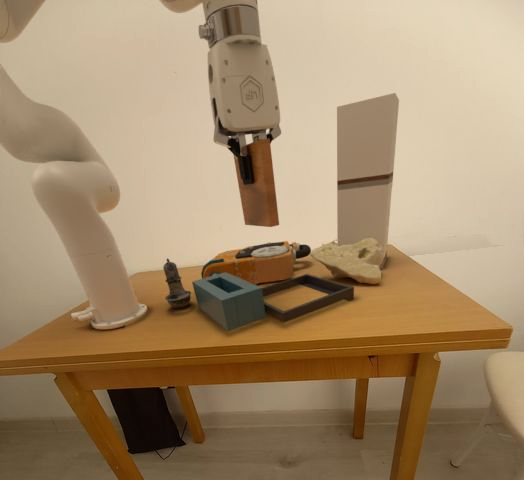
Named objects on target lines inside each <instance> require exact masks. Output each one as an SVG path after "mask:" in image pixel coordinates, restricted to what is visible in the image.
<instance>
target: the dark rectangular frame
mask: <svg viewBox="0 0 524 480" xmlns="http://www.w3.org/2000/svg"><path fill="white" fill-rule="evenodd" d="M297 286H303V287H306V288H309V289H312V290H314V291H318V292H320V293H323V294H326V295H324V296H321V297H319V298H316V299H313V300H310V301H307V302H305V303H302V304H299V305H297V306H295V307H291V308H288V309H285V310H283V309H281V308H278V307H276V306H275V305H272V304H271V303H268V302H266V301H264V308H265V314H267V315H269V316H270V317H272V318H274V319H275V320H277V321H279V322H281V323H286V322H289V321H292V320H294V319H297V318H299V317H303V316H306V315H308V314H311V313H313V312H315V311H318V310H320V309H323V308H325V307H328V306H330V305H331V306H332V305H334V304H336V303H338V302H342V301H343V300H344V301H347V302H350V301H352V300H354V299H355V287H354V286H351V285H348V284H344V283H341V282H337V281H334V280H331V279H327V278H324V277H319V276H316V275H313V274H310V273H304V274H302V275H298V276H295V277H291V278H289V279H286V280H281V281H278V282H277V283H273V284H270V285H267V286H264V287H261V288H262V294H263V298H264V297H267V296H271V295H274V294H277V293H280V292H282V291H285V290H289V289H291V288H295V287H297Z"/></svg>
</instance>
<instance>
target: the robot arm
mask: <svg viewBox="0 0 524 480" xmlns="http://www.w3.org/2000/svg"><path fill="white" fill-rule="evenodd" d="M158 1H159V2H160V3H161V4H162V6H164V7H165V8H166V9H167V10H168V11H170V12H172V13H175V14H185V13H187V12H190V11H191V10H193V9H195V8H197V7H198V6H200V5H201V4H202V9H203V15H204V20H205V21H204V22H205V23H204V24H199V25H198V36H199V39H200V40H205V41H207V44H208V45H207V46H208V49H209V50H208V52H207V78H208V79H207V80H208V81H207V82H208V92H209V100H210V108H211V115H212V120H213V125H214V131H213V142H214V143H215V144H216V145H219V146H221V147H224V148H227V150H228V151H230V152H231V153H232V155H233V154H234V155H233V157H234V156H235V158H237V159H238V164H239V170H240V176H241V179H242V180H243V184H244V185H247V184H253V183H254V175H253V168H252V161H251V156H248V151H247V139H246V135H247V136H248V135H251V140H252V142H255V141H258V140H260V139H270V145H271V144H272V143H273V141H274V140H276V139H277V138H279V137H280V136H281V134H282V129H281V127H280V124H281V109H280V102H279V94H278V88H277V82H276V76H275V72H274V66H273V62H272V58H271V55H270V51H269V48H268V45H267V44H263V41H262V34H261V33H262V32H261V25H260V15H259V6H258V0H158ZM45 2H46V0H0V44H7V43H10V42H13V41H15V40H16V39H17V38H18V37H19V36H20V35H21V34H22V33H23V32H24V31H25V29H26V28H27V26H28V25H29V23H30V22H31V21H32V19H33V18H34V16H35V15H36V14H37V13H38V11H39V10H40V9H41V7H42V6H43V5H44V3H45ZM267 130H268V132H267ZM0 147H2V149H4V150H5V151H6V152H7V153H8V154H9V155H10V156H11V157H13V158H15V159H16V160H19V161H21V162H25V163H32V164H40V165H38V166H37V167H36V168H35V169H34V171H33V172H32V175H31V180H30V181H31V182H30V183H31V189H32V192H33V195H34V198H35V199H36V201H37V204H38V205H39V207H40V208H41V209H42V211H43V212H44V214H45V215H46V216H47V218H48V220H49V221H50V222H51V224H52V226H53V227H54V229H55V231H56V233H57V235H58V236H59V238H60V240H61V242H62V245H63V247H64V249H65V251H66V254H67V256H68V257H69V259H70V261H71V264H72V266H73V269H74V271H75V272H76V274H77V278H78V279H79V282H80V284H81V287H82V288H83V290H84V293H85V295H86V297H87V299H88V302H89V307H86V308H85V310H80V311H75V312H72V313H70V315H71V317H72V320H73V321H74V322H75V323H76V322H79V323H83V322H86V321H90V324H91V326H92V328H93V329H95V330H113V329H118V328H121V327H125V326H126V325H125V324H127V323H130V322H133V321H135V320H137V319H139V318H141V317H142V316H144V315H145V314H146V313H147V312H148V306H147V305H146V304H143V303H139V300H138V299H137V295H136V293H135V290H134V287H133V285H132V282H131V280H130V277H129V273H128V271H127V268H126V265H125V263H124V259H123V258H122V255H121V251H120V249H119V247H118V244H117V241H116V238H115V236H114V234H113V232H112V231H111V228H110V227H109V224H107V222H106V221H105V220H104V218H103V217H102V215H101V214H103V213H107V212H111V211H112V210H114V209H115V208H116V207H117V206H118V205H119V202H120V199H121V188H120V185H119V182H118V180H117V178H116V177H115V175H114V173H113V172H112V170H111V168H110V167H109V166H108V164H107V163H106V162H105V160H104V159H103V158H102V156H101V154H100V153H99V152H98V151H97V149H96V148H95V146H94V144H92V142H91V141H90V140H89V137H87V136H86V134H85V132H84V131H83V130H82V128H81V127H80V126H79V124H77V123H76V121H74V120H73V119H72V118H71V117H70V116H69V115H68V114H66V113H65V112H63V111H62V110H61V109H58V108H56V107H54V106H51V105H48V104H44V103H40V102H37V101H34V100H32V99H31V98H29V97H28V96H27V95H26V94H25V93H24V92H23V91H22V90H21V89H20V87H19V86H18V85H17V83H16V82H15V81H14V80H13V79H12V78H11V76H10V75H9V73H8V72H7V70H6V69H5V68H4V67H3V65H2V64H1V63H0Z"/></svg>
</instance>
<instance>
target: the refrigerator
mask: <svg viewBox="0 0 524 480" xmlns="http://www.w3.org/2000/svg"><path fill="white" fill-rule="evenodd" d="M399 105H400V99H399V97H398V95H397V93H396V92H393V93H389V94H385V95H381V96H377V97H376V96H375V97H373V98H372V97H371V98H368V99H364V100H359V101H355V102H352V103H351V102H350V103H348V104H343V105H339V106H336V189H337V190H336V197H337V198H336V201H337V205H336V206H337V207H336V209H337V210H336V211H337V212H336V213H337V214H336V215H337V217H336V219H337V220H336V221H337V232H336V233H337V236H336V237H337V238H336V239H337V244H338V246H341V245H352V244H356V243H358V242H360V241H362V240H364V239H367V238H373V239H375V240H376V241H378V242H379V243H380V245H381V246H382V247H383V252H384V257H383V258H384V260H383V262H382V264H381V266H380V267H379V268H380V270H383V269H384V266H385V264H386V261H387V257H388V243H389V242H388V240H389V228H390V216H391V201H392V189H393V183H394V182H393V180H394V170H395V168H394V167H395V156H396V143H397V131H398V119H399V108H400V107H399Z"/></svg>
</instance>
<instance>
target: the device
mask: <svg viewBox="0 0 524 480" xmlns="http://www.w3.org/2000/svg"><path fill="white" fill-rule="evenodd" d="M311 252H312V249H311V247H310V246H309V245H308V244H300V243H299V242H297V241H292V242H291V243H289V241H288V240H285V241H278V242H277V241H275V242H266V243H262V244H256V245H250V246H247V247H243V248H239V249H238V248H237V249H231V250H225V251H223V252H219V253H218V254H217V255H215V256H214V257H213V258H212V259H210V260H209V261H207V263H205V264H204V265H203V266H202V270H201V272H200V274H201V279H203V278H207V277H210V276H214V275H218V274H221V273H225V272H226V273H229V274H231V275H233V276H236V277H238V278H240V279H243V280H245V281H247V282H250V283H252V284H254V285H259V284H263V283H264V284H265V283H275V282H277V283H278V282H282V281H286V280H289V279H292V278H294V267H293V266H294V265H295V262H296V261H297V259H298V260H299V259H303V258H306V257H309V255H310V253H311Z"/></svg>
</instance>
